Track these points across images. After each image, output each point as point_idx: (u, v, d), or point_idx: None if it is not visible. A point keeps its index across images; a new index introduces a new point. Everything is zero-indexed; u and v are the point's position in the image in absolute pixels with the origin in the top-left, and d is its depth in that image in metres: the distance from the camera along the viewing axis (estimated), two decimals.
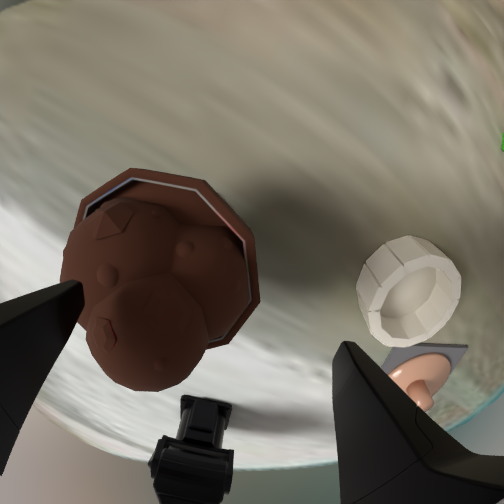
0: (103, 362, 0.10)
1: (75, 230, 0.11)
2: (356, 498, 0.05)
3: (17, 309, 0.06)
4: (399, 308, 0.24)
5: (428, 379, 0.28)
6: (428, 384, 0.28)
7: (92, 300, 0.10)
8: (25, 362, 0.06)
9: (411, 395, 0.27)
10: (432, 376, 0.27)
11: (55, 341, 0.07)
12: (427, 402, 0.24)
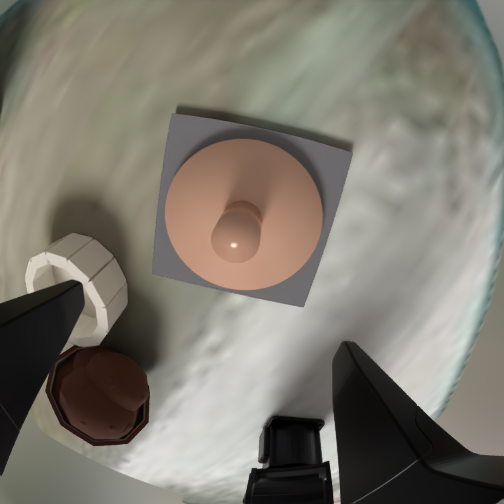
0: (122, 383, 0.20)
1: (71, 415, 0.17)
2: (355, 498, 0.05)
3: (17, 309, 0.06)
4: None
5: (226, 195, 0.18)
6: (244, 187, 0.18)
7: (96, 392, 0.19)
8: (25, 362, 0.06)
9: None
10: (219, 188, 0.18)
11: (55, 341, 0.07)
12: (217, 240, 0.15)
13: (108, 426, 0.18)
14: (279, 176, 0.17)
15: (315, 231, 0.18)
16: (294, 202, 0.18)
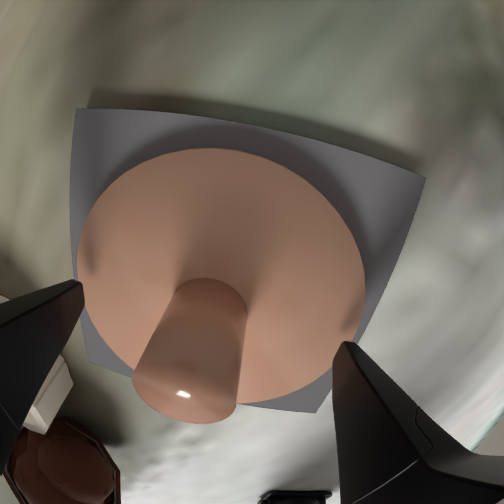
0: (77, 482, 0.11)
1: (29, 503, 0.08)
2: (356, 498, 0.05)
3: (17, 309, 0.06)
4: None
5: (174, 267, 0.09)
6: (209, 253, 0.09)
7: (50, 486, 0.10)
8: (25, 362, 0.06)
9: None
10: (160, 254, 0.09)
11: (55, 341, 0.07)
12: (146, 390, 0.06)
13: None
14: (282, 230, 0.08)
15: (348, 327, 0.09)
16: (312, 281, 0.09)
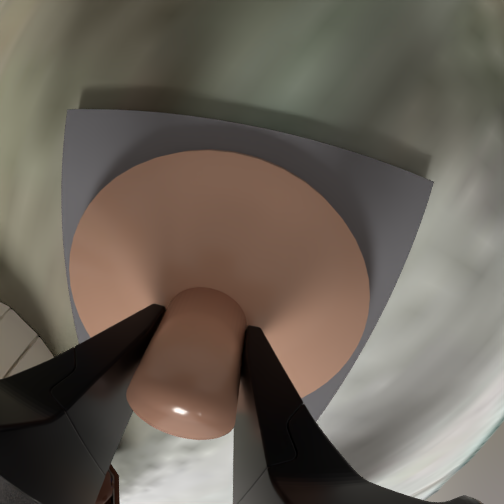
0: None
1: None
2: (238, 498, 0.05)
3: (110, 348, 0.06)
4: None
5: (169, 276, 0.08)
6: (205, 261, 0.08)
7: None
8: (118, 405, 0.06)
9: None
10: (154, 263, 0.08)
11: None
12: (141, 407, 0.06)
13: None
14: (283, 237, 0.08)
15: (351, 336, 0.09)
16: (314, 290, 0.08)
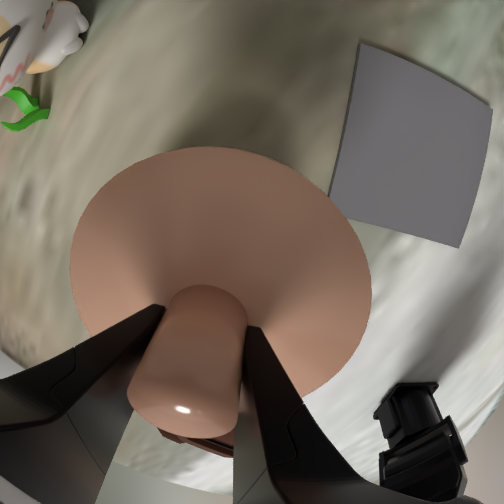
0: None
1: None
2: (238, 498, 0.05)
3: (110, 348, 0.06)
4: None
5: (170, 273, 0.08)
6: (206, 258, 0.08)
7: None
8: (118, 405, 0.06)
9: None
10: (155, 260, 0.08)
11: None
12: (142, 405, 0.06)
13: None
14: (284, 234, 0.08)
15: (353, 334, 0.09)
16: (316, 287, 0.08)
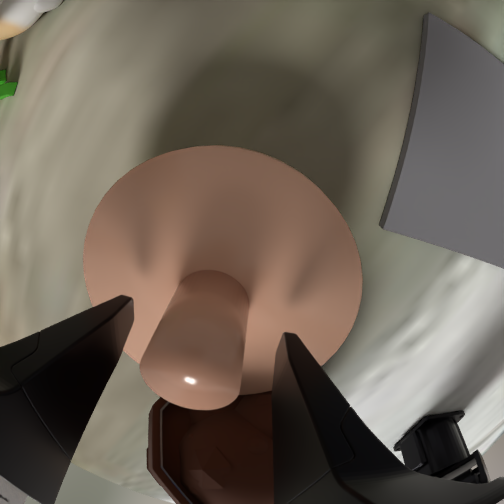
0: None
1: None
2: (283, 501, 0.05)
3: (71, 334, 0.06)
4: None
5: (179, 260, 0.09)
6: (212, 245, 0.09)
7: None
8: (80, 390, 0.06)
9: None
10: (165, 247, 0.09)
11: (108, 363, 0.07)
12: (152, 377, 0.07)
13: None
14: (282, 223, 0.08)
15: (346, 317, 0.10)
16: (311, 272, 0.09)
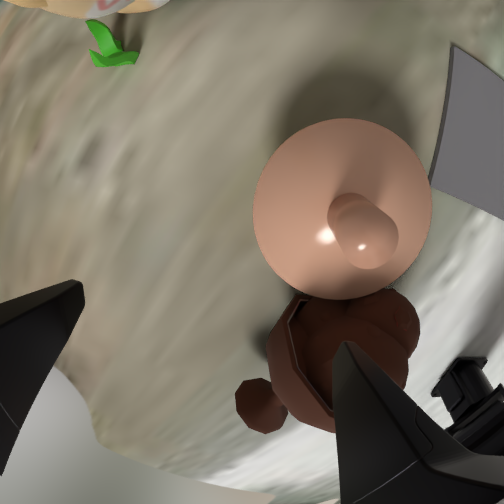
0: (415, 318, 0.16)
1: None
2: (356, 498, 0.05)
3: (17, 309, 0.06)
4: None
5: (334, 185, 0.14)
6: (356, 177, 0.14)
7: (391, 338, 0.15)
8: (25, 362, 0.06)
9: None
10: (327, 177, 0.14)
11: (55, 341, 0.07)
12: (350, 241, 0.11)
13: (400, 386, 0.14)
14: (394, 166, 0.13)
15: (423, 229, 0.14)
16: (407, 196, 0.14)
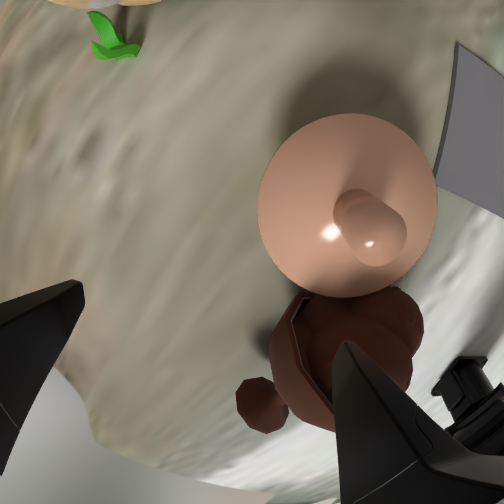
0: (419, 316, 0.15)
1: None
2: (355, 498, 0.05)
3: (17, 309, 0.06)
4: None
5: (341, 181, 0.14)
6: (362, 173, 0.13)
7: (396, 337, 0.14)
8: (25, 362, 0.06)
9: None
10: (333, 172, 0.14)
11: (55, 341, 0.07)
12: (358, 237, 0.11)
13: (404, 385, 0.14)
14: (400, 162, 0.13)
15: (429, 227, 0.14)
16: (413, 193, 0.14)
